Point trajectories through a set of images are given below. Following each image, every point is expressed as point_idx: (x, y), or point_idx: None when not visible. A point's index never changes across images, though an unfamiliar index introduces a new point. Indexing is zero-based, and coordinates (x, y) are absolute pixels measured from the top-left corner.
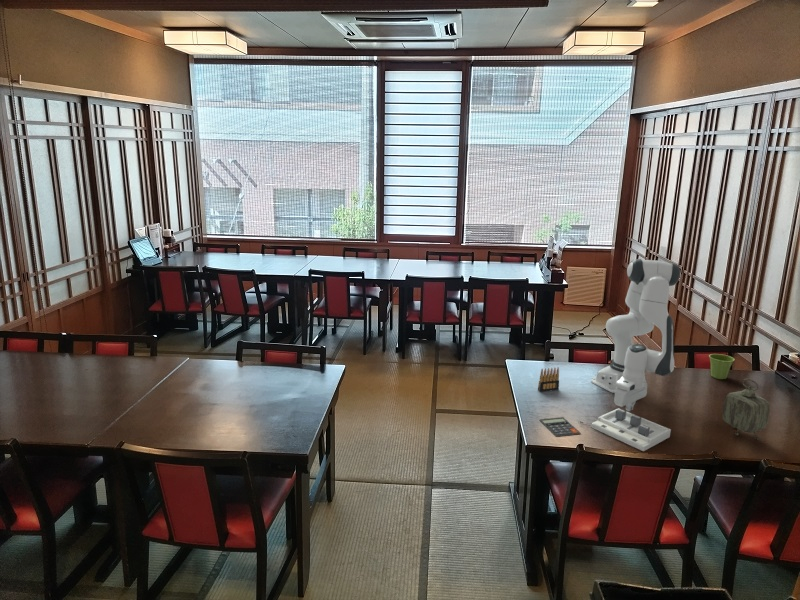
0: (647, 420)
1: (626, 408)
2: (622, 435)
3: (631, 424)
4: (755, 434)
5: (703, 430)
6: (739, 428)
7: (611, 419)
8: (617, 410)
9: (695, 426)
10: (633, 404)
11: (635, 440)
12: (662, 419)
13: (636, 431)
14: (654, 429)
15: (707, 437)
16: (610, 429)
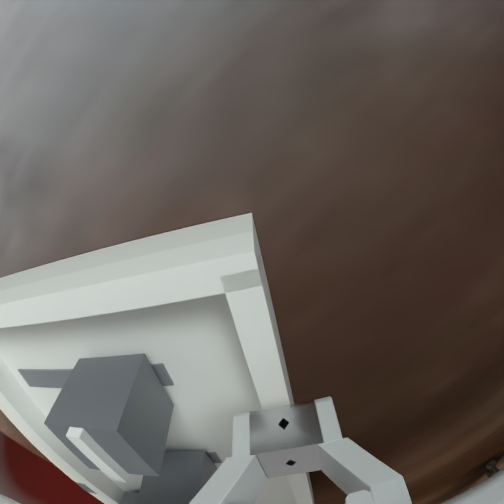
0: (299, 483)
1: (235, 437)
2: (50, 458)
3: None
4: None
5: (471, 449)
6: None
7: (48, 345)
8: (59, 432)
9: (488, 429)
10: (344, 490)
11: (91, 491)
12: (480, 374)
13: None
14: (270, 493)
15: (426, 480)
16: (7, 411)
